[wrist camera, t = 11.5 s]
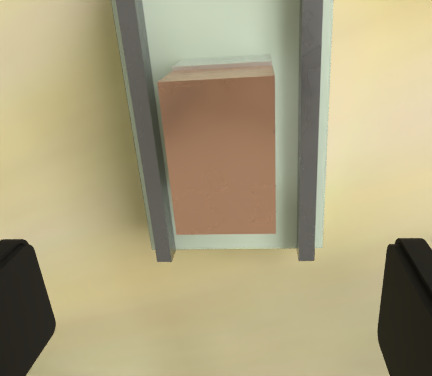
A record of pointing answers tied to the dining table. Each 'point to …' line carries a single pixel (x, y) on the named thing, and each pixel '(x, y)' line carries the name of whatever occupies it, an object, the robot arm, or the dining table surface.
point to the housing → (221, 144)
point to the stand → (284, 104)
